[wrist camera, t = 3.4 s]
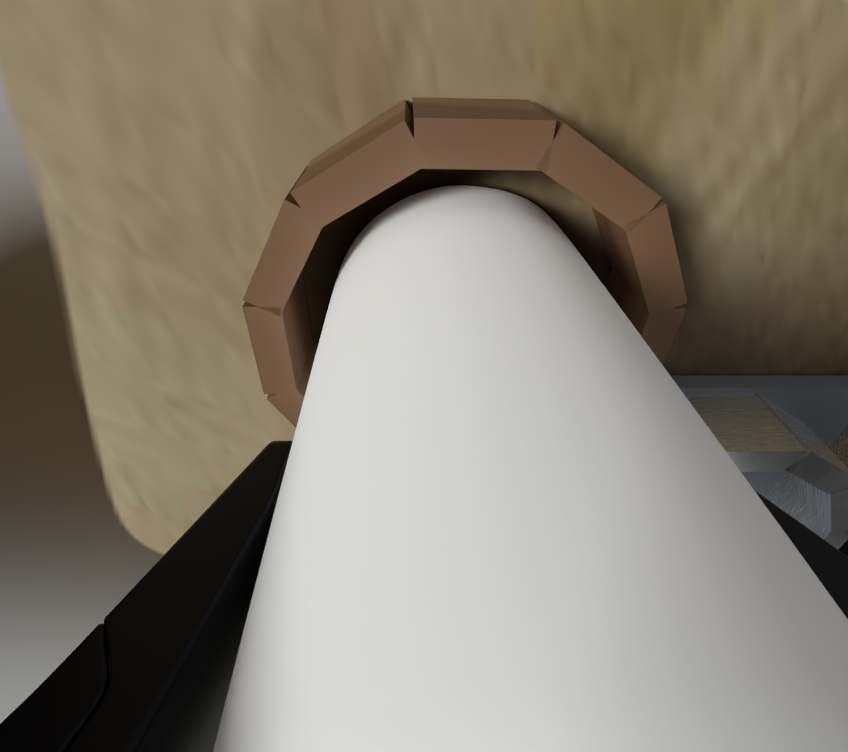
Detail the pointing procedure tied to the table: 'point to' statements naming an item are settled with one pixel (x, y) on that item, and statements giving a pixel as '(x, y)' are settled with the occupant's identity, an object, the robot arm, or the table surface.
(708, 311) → the table surface
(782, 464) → the dock
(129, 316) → the table surface
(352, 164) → the brown segmented ring
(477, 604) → the can
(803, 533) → the robot arm
